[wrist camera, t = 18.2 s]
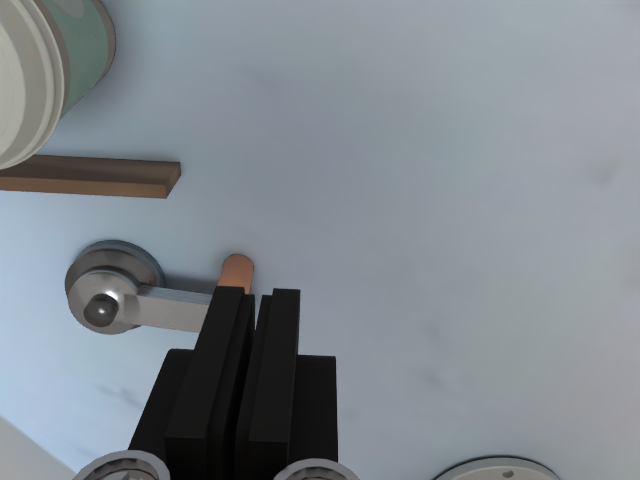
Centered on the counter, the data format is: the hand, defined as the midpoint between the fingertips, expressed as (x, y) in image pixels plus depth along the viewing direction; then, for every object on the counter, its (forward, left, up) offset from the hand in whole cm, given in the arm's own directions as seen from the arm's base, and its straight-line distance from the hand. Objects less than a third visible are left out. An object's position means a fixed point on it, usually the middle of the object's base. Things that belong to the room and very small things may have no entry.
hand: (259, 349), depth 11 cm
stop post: (-12, +4, -23) cm, 26 cm away
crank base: (-13, +11, -23) cm, 29 cm away
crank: (-13, +8, -21) cm, 26 cm away
